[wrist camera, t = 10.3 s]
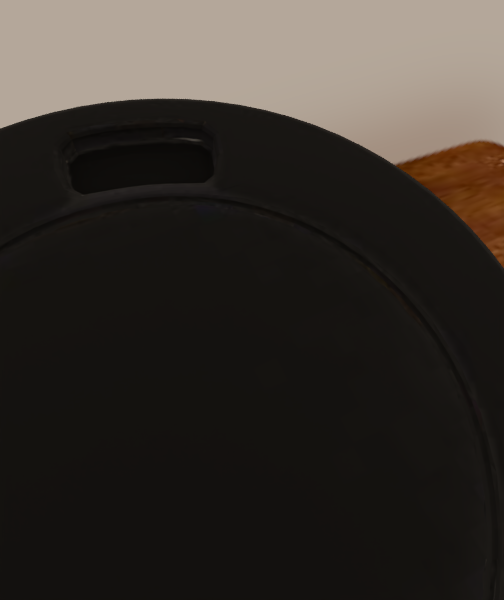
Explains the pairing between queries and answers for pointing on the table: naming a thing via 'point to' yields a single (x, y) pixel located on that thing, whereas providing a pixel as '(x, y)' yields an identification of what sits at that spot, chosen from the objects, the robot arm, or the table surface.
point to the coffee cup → (240, 365)
